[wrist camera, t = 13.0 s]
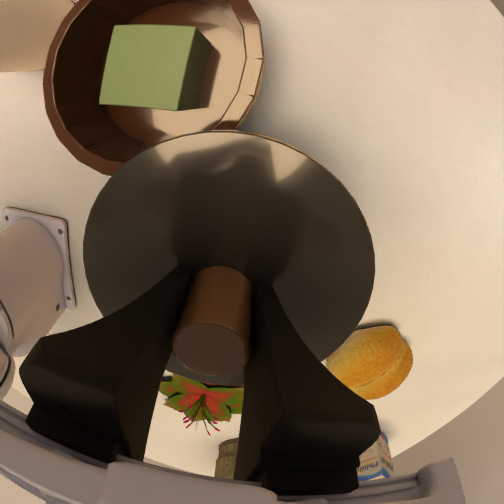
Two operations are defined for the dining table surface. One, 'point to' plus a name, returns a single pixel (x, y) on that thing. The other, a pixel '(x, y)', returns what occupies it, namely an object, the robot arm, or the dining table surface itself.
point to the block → (155, 67)
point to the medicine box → (376, 461)
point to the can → (28, 32)
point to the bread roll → (372, 361)
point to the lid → (231, 245)
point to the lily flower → (202, 399)
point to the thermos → (226, 459)
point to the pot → (137, 118)
